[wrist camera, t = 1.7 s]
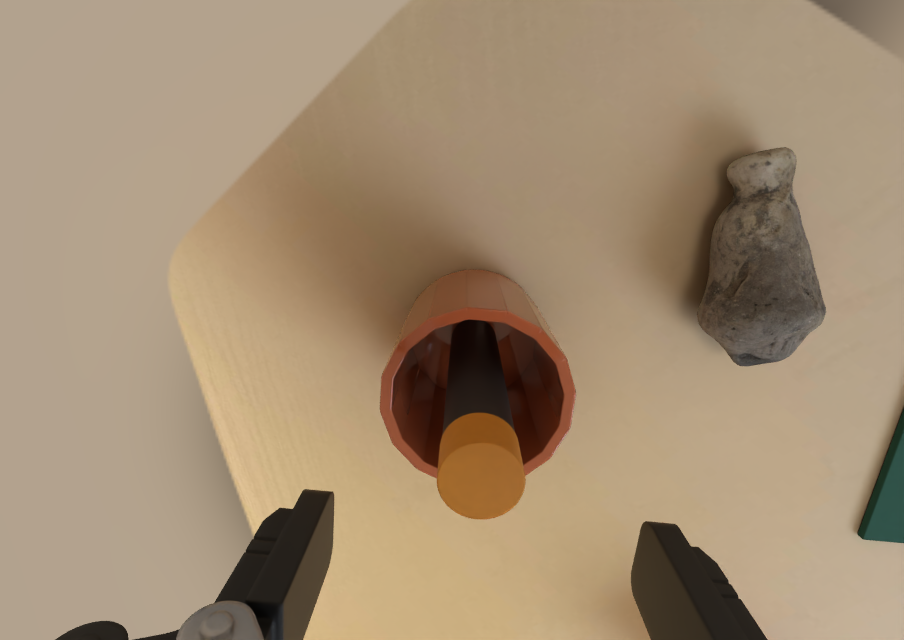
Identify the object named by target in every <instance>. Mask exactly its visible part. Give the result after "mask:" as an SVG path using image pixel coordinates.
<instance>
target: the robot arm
mask: <svg viewBox="0 0 904 640" xmlns="http://www.w3.org/2000/svg"><path fill="white" fill-rule="evenodd" d="M333 526H334V493H333V492H329V491H318V490H307V489H304V490H303V492H302V493H301V495H300V497H299V499H298V501H297V503H296V505H295V506H294V508H293V509H286V508H279V509H278V510H276V511H275V512H274V513H273V514H271V515H270V516H269V517H267V518H266V519H265V520H264V521H263V522H262V524H261V526H260V527H259V529H258V531H257V532H256V534H255V536H254V539H252V541H251V542H250V544H249V546H248V547H247V549H246V553H244V554H243V556H242V557H241V559H240V561H239V563H238V564H237V566H236V567H235V569H234V571H233V572H232V574H231V576H230V577H229V579H228V581H227V583H226V584H225V586H224V588H223V589H222V591H221V593H220V594H219V596H218V598H217V599H216V601H215V603H213V604H210V605H207V606H205V607H203V608H201V609H200V610H198V611H197V612H195V613H194V614H192V615H191V616H190V617H189V618H188V619H187V620H186V621H185V623H184V624H183V625H182V626H181V628H180V629H179V630H176V631H173V632H170V633H166V634H161V635H156V636H151V637H146V638H140V639H135V640H303V638H304V635H305V632H306V630H307V627H308V624H309V621H310V618H311V616H312V613H313V610H314V607H315V604H316V602H317V599H318V596H319V593H320V590H321V587H322V585H323V582H324V579H325V576H326V573H327V571H328V568H329V564H330V560H331V555H332V548H333ZM631 586H632V592H633V596H634V599H635V601H636V604H637V606H638V609H639V611H640V614H641V616H642V618H643V621H644V623H645V626H646V628H647V631H648V633H649V636H650V638H651V640H767V638H766V637H765V635H764V634H763V632H762V631H761V629H760V628H759V626H758V625H757V623H756V622H755V620H754V619H753V617H752V616H751V614H750V613H749V611H748V610H747V608H746V607H745V605H744V604H743V602H742V601H741V599H738V595H737V593H736V592H735V590H734V589H733V587H732V586H731V584H729V583H728V579H727V578H726V576H725V575H724V573H723V572H722V570H721V569H720V567H719V566H718V564H717V563H716V562H715V561H714V560H712V559H711V558H710V557H709V556H708V555H707V554H706V553H704V552H703V551H702V550H701V549H700V548H699V547H691V546H690V545H689V543H688V541H687V540H686V538H685V536H684V535H683V533H682V532H681V530H680V528H679V527H678V526H677V525H676V524H669V523H658V522H647V521H646V522H644V523H643V524H642V527H641V530H640V535H639V539H638V544H637V548H636V553H635V557H634V562H633V566H632V571H631ZM56 640H128V633H127V631H126V629H125V628H124V627H123V626H122V625H120V624H118V623H115V622H110V621H99V622H92V623H88V624H85V625H82V626H79V627H77V628H75V629H72V630H70V631H68V632H67V633H65V634H63V635H62V636H60V637H59V638H57V639H56Z"/></svg>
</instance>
